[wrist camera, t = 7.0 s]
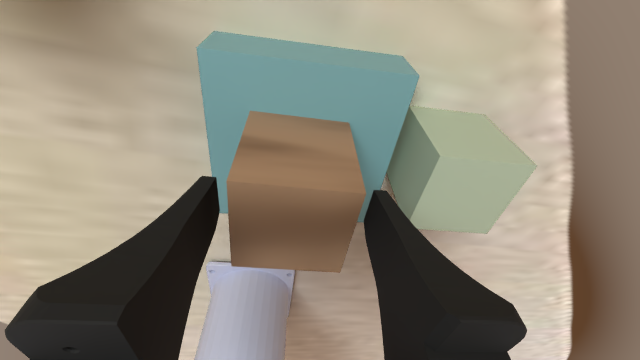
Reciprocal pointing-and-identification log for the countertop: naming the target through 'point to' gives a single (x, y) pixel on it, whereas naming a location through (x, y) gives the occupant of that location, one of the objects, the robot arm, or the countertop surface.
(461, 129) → the sage block
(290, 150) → the walnut block
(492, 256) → the countertop surface
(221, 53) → the teal base block
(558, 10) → the countertop surface
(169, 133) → the countertop surface
